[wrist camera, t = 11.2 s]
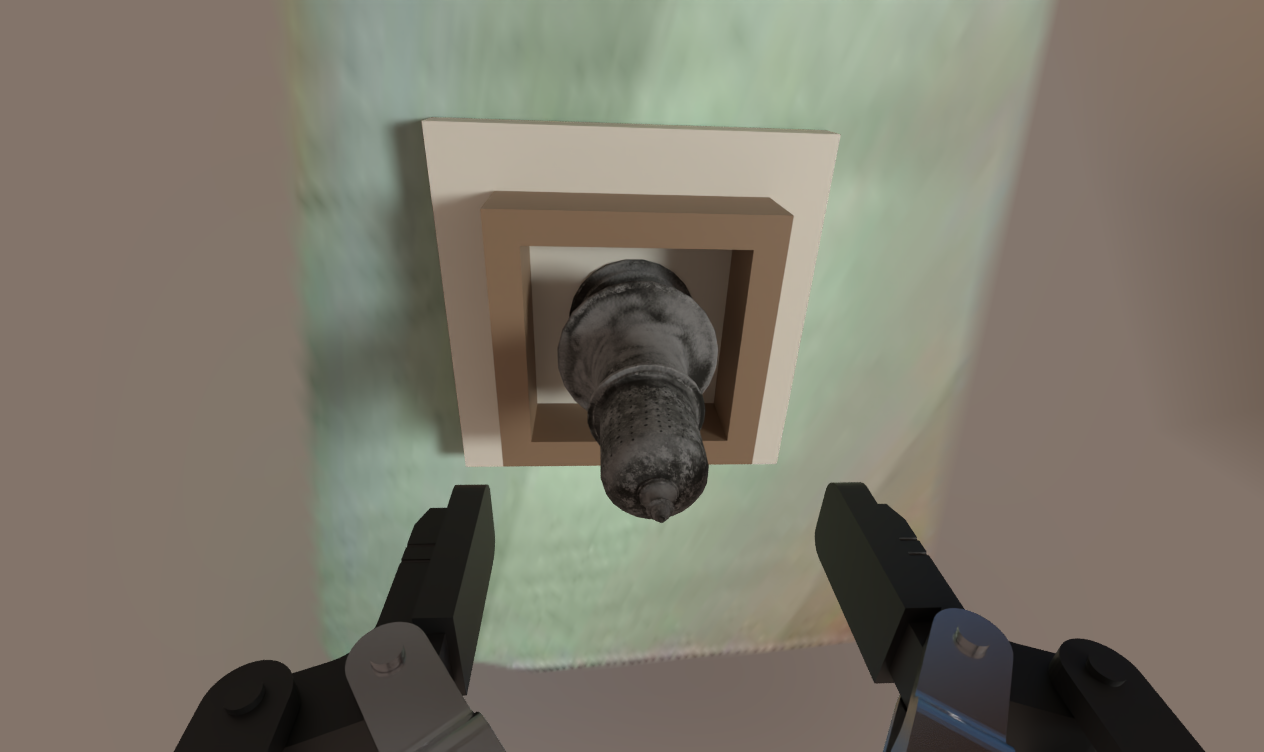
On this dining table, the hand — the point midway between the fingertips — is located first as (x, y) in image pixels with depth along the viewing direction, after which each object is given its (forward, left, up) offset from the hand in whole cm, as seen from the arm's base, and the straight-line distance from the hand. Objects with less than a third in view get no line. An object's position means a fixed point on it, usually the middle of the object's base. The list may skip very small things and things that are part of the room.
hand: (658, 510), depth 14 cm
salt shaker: (0, 0, -12) cm, 12 cm away
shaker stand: (0, 0, -13) cm, 13 cm away
